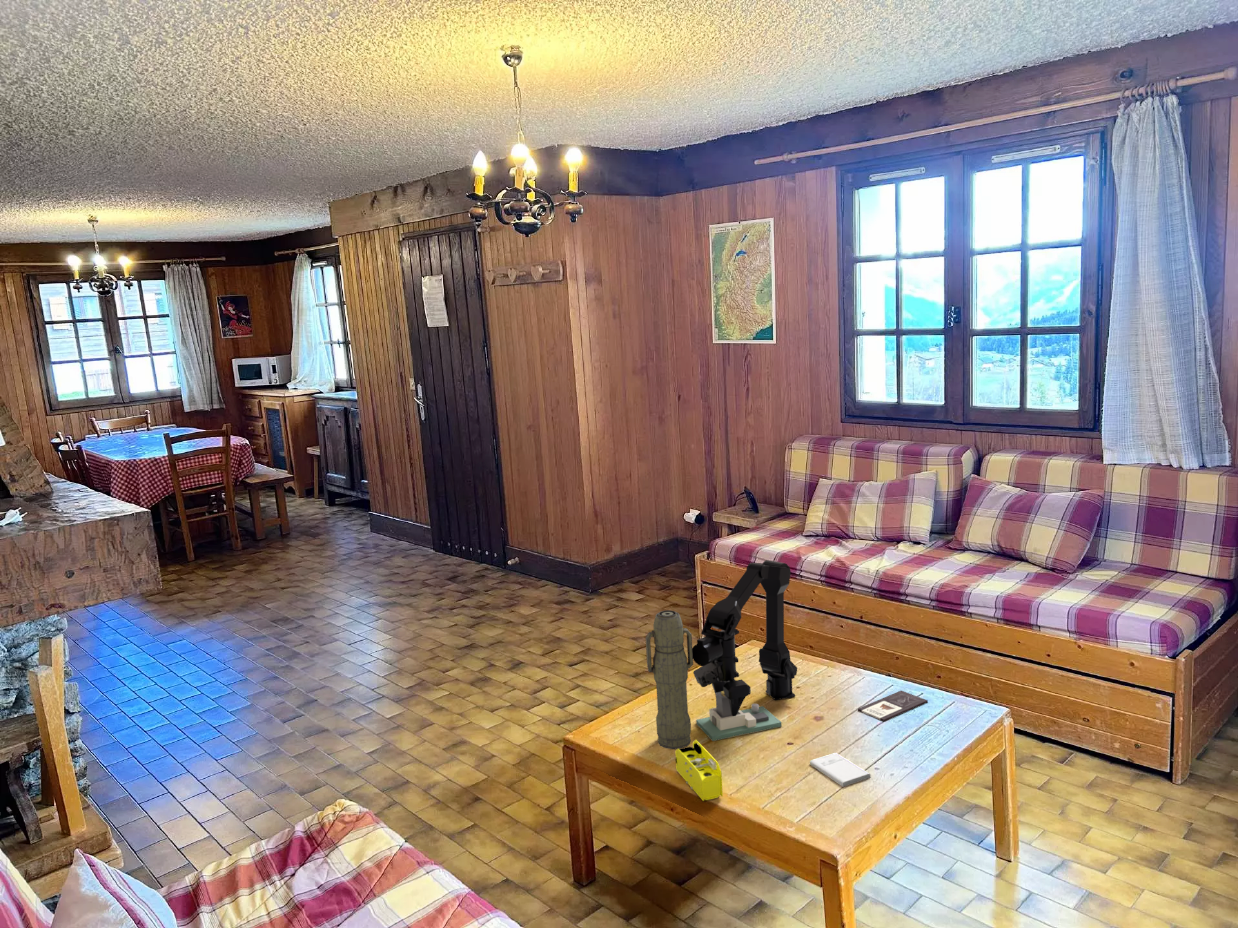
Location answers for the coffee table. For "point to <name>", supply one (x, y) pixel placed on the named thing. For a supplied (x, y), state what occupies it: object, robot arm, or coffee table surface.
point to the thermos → (671, 678)
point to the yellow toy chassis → (700, 771)
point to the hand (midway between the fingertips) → (726, 708)
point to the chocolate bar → (892, 705)
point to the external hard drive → (839, 769)
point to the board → (738, 723)
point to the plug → (722, 705)
